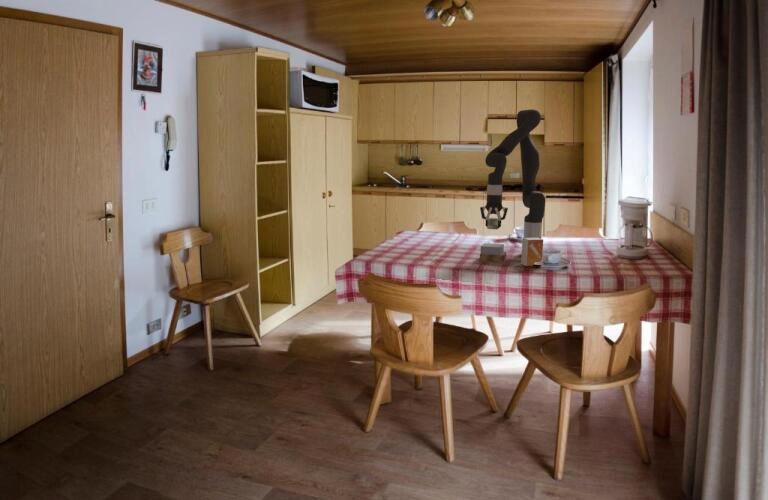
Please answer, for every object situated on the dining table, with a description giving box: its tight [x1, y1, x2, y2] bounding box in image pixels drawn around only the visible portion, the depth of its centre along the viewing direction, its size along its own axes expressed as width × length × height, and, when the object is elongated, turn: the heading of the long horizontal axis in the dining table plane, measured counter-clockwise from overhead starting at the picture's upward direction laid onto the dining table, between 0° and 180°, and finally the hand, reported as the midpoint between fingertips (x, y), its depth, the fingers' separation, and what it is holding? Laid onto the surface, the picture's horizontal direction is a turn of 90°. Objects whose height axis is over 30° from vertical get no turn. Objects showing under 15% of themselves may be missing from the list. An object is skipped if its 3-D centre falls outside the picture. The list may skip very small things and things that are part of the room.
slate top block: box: [479, 242, 505, 255], centre depth 305 cm, size 10×10×4 cm
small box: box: [520, 237, 544, 267], centre depth 293 cm, size 8×6×13 cm
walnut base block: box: [479, 251, 508, 264], centre depth 306 cm, size 12×12×4 cm
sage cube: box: [486, 217, 499, 230], centre depth 303 cm, size 5×5×5 cm
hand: (493, 227), depth 304 cm, fingers closed on sage cube, 5 cm apart
